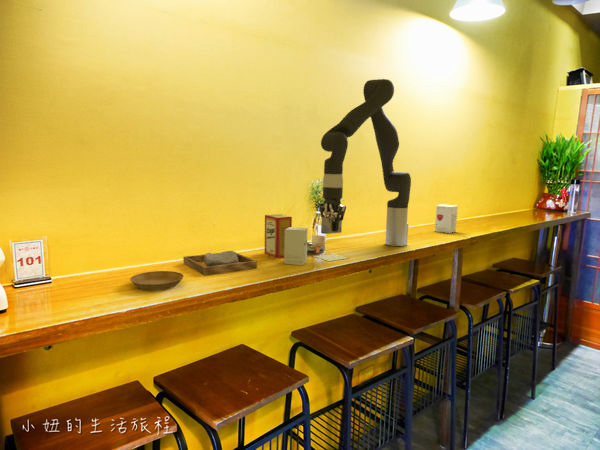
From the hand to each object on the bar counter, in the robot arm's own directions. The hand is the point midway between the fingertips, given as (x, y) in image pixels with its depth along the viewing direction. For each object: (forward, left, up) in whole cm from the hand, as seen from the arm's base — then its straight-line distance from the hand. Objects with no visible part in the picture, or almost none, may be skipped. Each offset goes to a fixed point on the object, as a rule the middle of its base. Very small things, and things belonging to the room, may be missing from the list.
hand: (331, 230), depth 162 cm
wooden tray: (+42, -9, -11) cm, 45 cm away
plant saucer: (+67, +3, -11) cm, 68 cm away
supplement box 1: (+16, 0, -11) cm, 20 cm away
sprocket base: (0, -14, -11) cm, 18 cm away
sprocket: (0, -14, -11) cm, 18 cm away
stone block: (+41, -11, -11) cm, 44 cm away
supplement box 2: (-99, -19, -11) cm, 101 cm away
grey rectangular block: (0, 0, -1) cm, 1 cm away
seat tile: (0, 0, -11) cm, 11 cm away
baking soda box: (+15, -14, -11) cm, 24 cm away
